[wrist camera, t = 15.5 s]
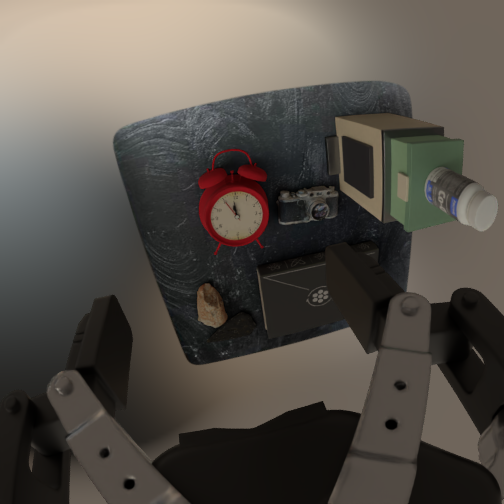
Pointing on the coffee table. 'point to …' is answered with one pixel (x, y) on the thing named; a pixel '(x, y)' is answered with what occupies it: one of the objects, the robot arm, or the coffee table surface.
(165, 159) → the coffee table surface
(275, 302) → the book
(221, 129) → the coffee table surface
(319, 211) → the camera
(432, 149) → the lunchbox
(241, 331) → the arrowhead
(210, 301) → the tan elongated rock
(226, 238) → the alarm clock
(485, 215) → the pill bottle
